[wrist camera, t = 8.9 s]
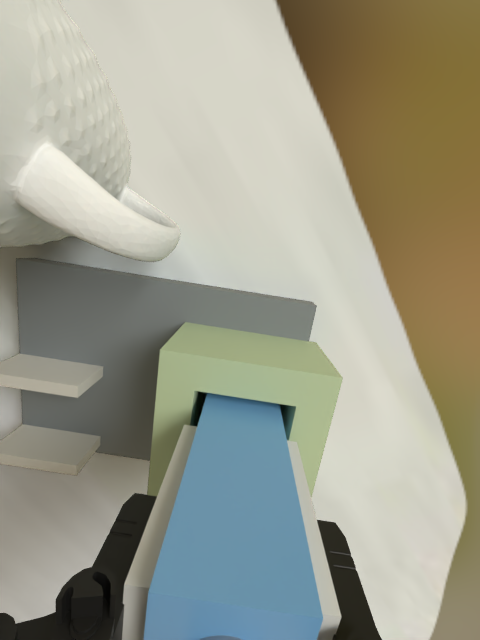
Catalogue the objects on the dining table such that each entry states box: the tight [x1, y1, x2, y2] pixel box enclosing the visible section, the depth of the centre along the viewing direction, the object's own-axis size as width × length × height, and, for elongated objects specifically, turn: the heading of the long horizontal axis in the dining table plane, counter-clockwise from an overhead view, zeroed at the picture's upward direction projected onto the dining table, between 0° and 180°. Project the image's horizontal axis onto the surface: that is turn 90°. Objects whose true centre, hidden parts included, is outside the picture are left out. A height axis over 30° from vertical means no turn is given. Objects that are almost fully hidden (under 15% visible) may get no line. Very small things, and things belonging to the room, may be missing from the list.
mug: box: [0, 0, 180, 262], centre depth 12 cm, size 15×11×13 cm
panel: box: [0, 258, 317, 476], centre depth 19 cm, size 20×14×4 cm
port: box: [147, 322, 343, 497], centre depth 17 cm, size 9×9×6 cm
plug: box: [144, 393, 323, 640], centre depth 11 cm, size 4×4×12 cm
